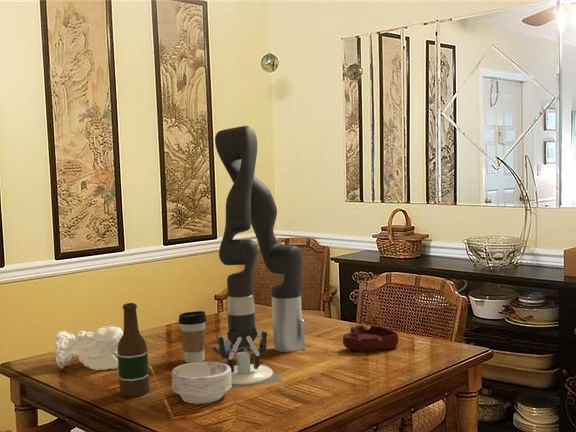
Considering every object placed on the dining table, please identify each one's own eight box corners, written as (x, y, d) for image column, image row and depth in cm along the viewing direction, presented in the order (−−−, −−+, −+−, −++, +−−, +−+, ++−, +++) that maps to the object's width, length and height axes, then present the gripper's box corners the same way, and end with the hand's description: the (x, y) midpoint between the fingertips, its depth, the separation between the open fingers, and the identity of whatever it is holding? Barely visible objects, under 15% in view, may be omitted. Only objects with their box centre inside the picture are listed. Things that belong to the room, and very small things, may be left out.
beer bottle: (122, 388, 192) (116, 301, 189) (151, 387, 192) (146, 300, 190) (117, 398, 184) (112, 307, 182) (147, 396, 184) (142, 306, 182)
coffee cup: (203, 365, 210) (201, 316, 209) (176, 365, 212) (173, 315, 210) (212, 357, 218) (209, 309, 217) (186, 357, 220) (183, 309, 219)
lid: (263, 364, 207) (262, 343, 206) (279, 380, 192) (279, 357, 191) (210, 371, 202) (209, 349, 202) (222, 388, 187) (221, 365, 186)
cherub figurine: (67, 326, 222) (129, 318, 221) (73, 365, 223) (135, 357, 222) (51, 336, 209) (116, 327, 208) (57, 377, 210) (123, 368, 209)
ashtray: (393, 356, 213) (392, 340, 212) (340, 353, 218) (340, 337, 217) (403, 341, 229) (402, 325, 229) (354, 338, 235) (353, 323, 234)
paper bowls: (241, 391, 186) (240, 361, 185) (217, 411, 172) (215, 379, 171) (189, 387, 191) (188, 358, 190) (161, 406, 177) (160, 375, 176)
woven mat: (224, 357, 220) (224, 351, 219) (212, 349, 229) (211, 343, 229) (255, 352, 224) (255, 345, 224) (241, 344, 234) (241, 338, 234)
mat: (265, 365, 208) (265, 363, 208) (282, 382, 191) (282, 380, 191) (208, 373, 202) (208, 371, 202) (220, 391, 186) (220, 389, 186)
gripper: (262, 305, 201) (265, 363, 202) (212, 311, 197) (215, 369, 198) (269, 311, 194) (272, 370, 195) (218, 316, 190) (221, 377, 191)
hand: (243, 370), depth 197 cm, fingers open, 6 cm apart
